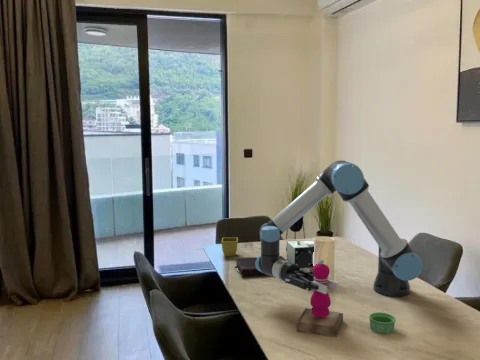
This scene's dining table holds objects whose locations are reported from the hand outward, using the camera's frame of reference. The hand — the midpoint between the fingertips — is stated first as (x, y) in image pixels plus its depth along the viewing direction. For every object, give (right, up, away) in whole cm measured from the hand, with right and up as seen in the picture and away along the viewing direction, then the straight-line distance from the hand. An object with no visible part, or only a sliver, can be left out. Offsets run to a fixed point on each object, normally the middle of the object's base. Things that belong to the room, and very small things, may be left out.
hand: (331, 288), depth 162 cm
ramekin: (+18, -16, +3) cm, 24 cm away
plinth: (-3, -15, +6) cm, 16 cm away
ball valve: (-4, -9, +60) cm, 60 cm away
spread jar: (+6, -6, +78) cm, 79 cm away
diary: (-21, -8, +71) cm, 74 cm away
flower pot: (-38, -4, +97) cm, 104 cm away
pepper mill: (-3, -11, +6) cm, 12 cm away
